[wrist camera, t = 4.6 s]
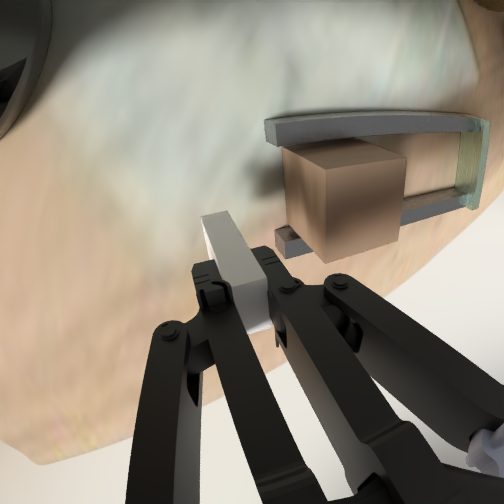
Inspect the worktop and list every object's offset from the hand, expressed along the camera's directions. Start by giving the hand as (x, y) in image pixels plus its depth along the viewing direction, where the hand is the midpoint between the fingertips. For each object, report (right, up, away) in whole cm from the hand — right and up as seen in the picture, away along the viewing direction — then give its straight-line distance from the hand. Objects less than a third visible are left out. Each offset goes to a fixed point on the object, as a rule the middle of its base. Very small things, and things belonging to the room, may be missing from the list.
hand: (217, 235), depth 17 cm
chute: (+14, +6, +7) cm, 17 cm away
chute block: (+7, +5, +5) cm, 10 cm away
